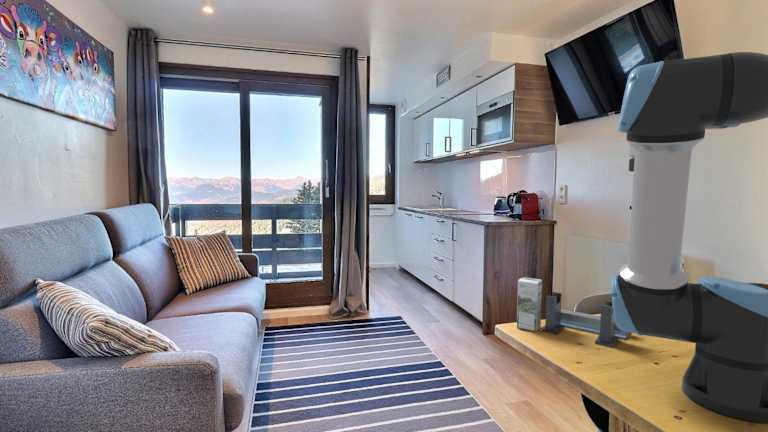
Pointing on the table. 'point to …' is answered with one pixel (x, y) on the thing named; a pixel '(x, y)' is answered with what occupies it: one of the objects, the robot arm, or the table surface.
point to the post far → (553, 314)
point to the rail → (584, 320)
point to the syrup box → (529, 304)
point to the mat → (591, 330)
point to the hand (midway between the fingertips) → (641, 231)
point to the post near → (607, 326)
